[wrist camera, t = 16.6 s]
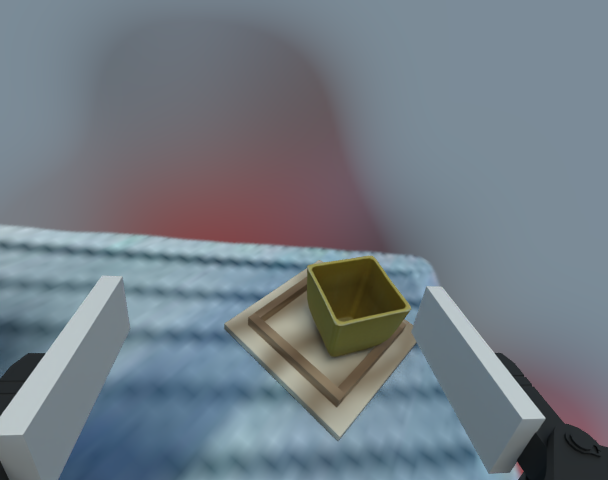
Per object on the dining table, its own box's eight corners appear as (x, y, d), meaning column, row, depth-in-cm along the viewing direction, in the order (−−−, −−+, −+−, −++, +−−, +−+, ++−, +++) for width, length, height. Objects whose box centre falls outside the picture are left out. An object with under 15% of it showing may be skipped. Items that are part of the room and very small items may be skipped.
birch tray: (224, 328, 43) (224, 315, 41) (318, 264, 54) (320, 252, 52) (338, 441, 34) (343, 430, 33) (420, 337, 46) (427, 325, 44)
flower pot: (296, 314, 44) (306, 263, 39) (356, 302, 47) (373, 253, 42) (321, 376, 38) (336, 326, 33) (389, 358, 41) (413, 309, 36)
